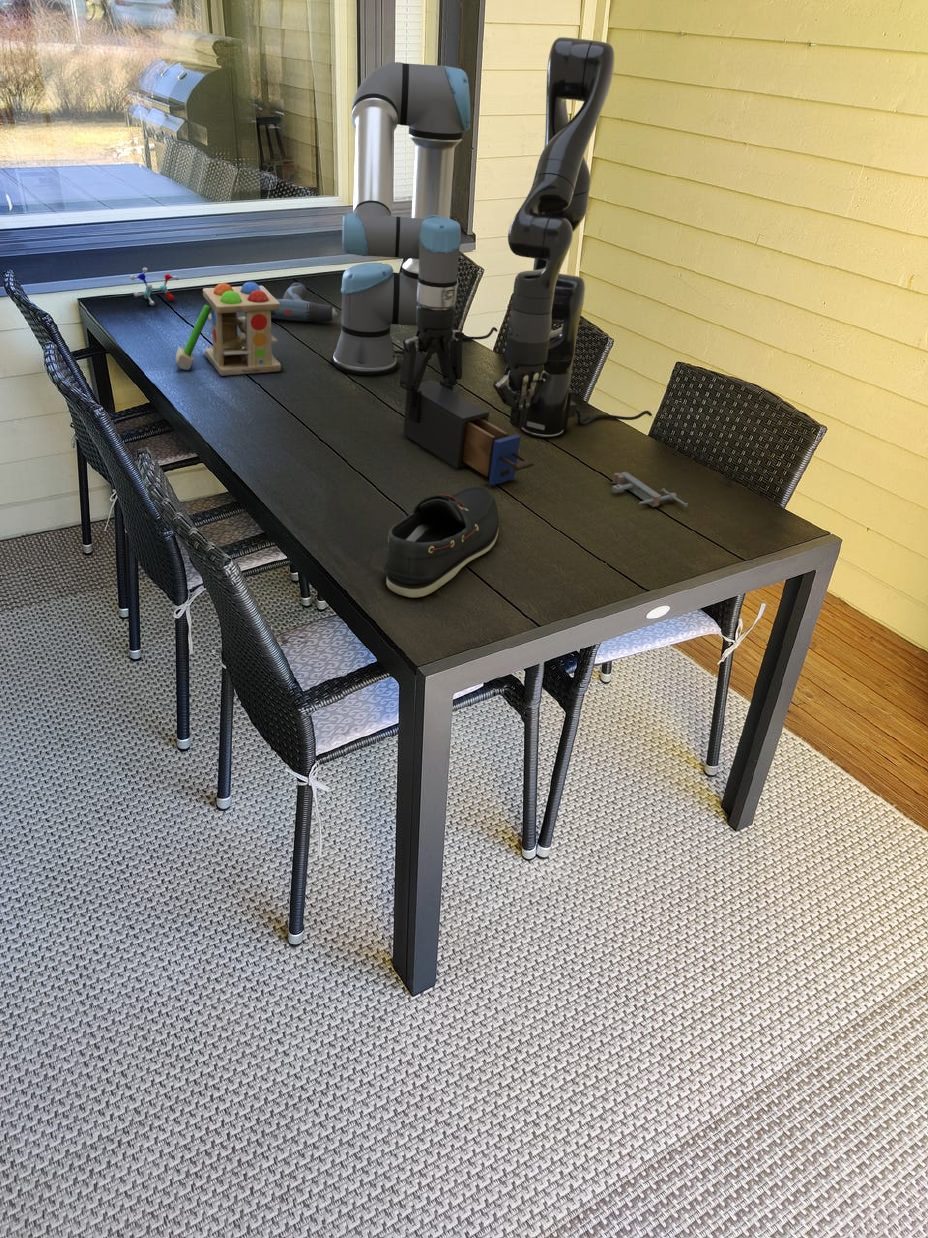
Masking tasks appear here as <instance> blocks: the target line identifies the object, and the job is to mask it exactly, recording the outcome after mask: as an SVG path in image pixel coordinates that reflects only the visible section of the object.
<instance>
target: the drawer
mask: <svg viewBox="0 0 928 1238" xmlns="http://www.w3.org/2000/svg"><path fill="white" fill-rule="evenodd" d="M520 442H521V436H520V435H518V434H513V435H510V436H509V432H506V431H505V430H504V429H502V428H500V427H498V426H496V425H494V424H493V423H491V422H489V420H488V421H486V420H484V419H483V418H479V419H475V420H471V421H467V422H466V423H465V432H464V441H463V450H462V459H461V461H463V462H464V463H466V464H467V465H469V466H468V467H470V468H472V469H474V470H475V471H477V472H478V473H480V474H481V475H483V476H484V477H486V478H489V479H488V483H489V484H490V485H492V486H495V485H498V484H501V483H505V482H508V481H511V480H514V479H515V477H516V472H518V471H521V470H525V469H528V468H531V467H534V465H535V462H534V459H532V458H529V459H528V458H526V457H524V456H522V455H521V454H519V448H520V444H521V443H520ZM518 460H519V462H518Z"/></svg>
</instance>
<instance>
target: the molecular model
mask: <svg viewBox="0 0 928 1238" xmlns="http://www.w3.org/2000/svg"><path fill="white" fill-rule="evenodd" d="M146 273H148V268H147V267H143V268H142V273H139V275H135V274H134V275H133V274H132V275H130V276H129V278H130V280H132V281H134V280H136V279H139V280H140V281H142V282H143V284H144V285H145V290H143V292H137V291H135V292H134V293H133V296H134V297H135V298H138V297H139V296H140V297H141V296H143V298H144V299H145V300H148V301H149V305H150V306H151V307H152V306H154V305H155V301H153V300H152V298H151V297H150V296H151V294H152V293H153V292H154V291H161V292H163V293H164V294H165V295H166V297H167V299H168V301H170V302H171V301H174V300H175V296H174V295H173V294H171V293H170V291H169V290H168V287H167V283H168V281H170V280H171V279H172V280H175V281H179V280H180V276H179V275H170V274H169V273H165V275H164V283H163V284H161V285H160V286H159V287H153V285H152V284H150V283H149V284H148V282H147V281H146Z"/></svg>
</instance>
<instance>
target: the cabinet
mask: <svg viewBox="0 0 928 1238" xmlns="http://www.w3.org/2000/svg"><path fill="white" fill-rule="evenodd" d="M413 385H414V384H413ZM419 391H421V392H422V394H421V411H420V423H416V422H414V421H412V420H411V419H409V407H410V406H409V405H408V403H407V398H408V391H407V390H406V393H405V394H406V395H405V408H404V419H403V421H404V422H403V435H404V437H406V438H408V439H410V440H411V441H413V442H414V443H415V444H417V445H419V446H420V447H422V448H423V449H425V450H427V451H428V452H430V453H431V454H433V455H434V456H436V457H437V458H439V459H441V460H442V461H444V462H445V463H446V464H448V465H449V466H451V467H453V468H455V469H456V470H460V469H463V468H467V467H470V466H469V465H467V464H466V463H464V462H463V461H461V459H462V450H463V441H464V432H465V423H466V422H467V421H471V420H475V419H479V418H483V419H484V420H486V421H488V422H489V419H490V411H488V410H487V409H485V408H483V407H482V406H480V405H478V404H476V403H474V402H473V401H471V400H469V399H467V398H466V397H464V396H462V395H460V394H459V393H457V392H455V391H454V390H453V391H452V390H450V389H448V388H447V387H445V386H443V385H441V384H440V382H438V381H436V380H435V379H431V380H426V381H421V384H420V387H419Z"/></svg>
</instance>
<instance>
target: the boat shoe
mask: <svg viewBox="0 0 928 1238" xmlns="http://www.w3.org/2000/svg"><path fill="white" fill-rule="evenodd" d="M499 528H500V518H499V509H498V505H497V501H496V499H495V498H494V496H493V494H492V493H491V491H490V490H488V489H487V488H486V487H483V486H471V487H467V488H464V489H462V490H459V491H458V492H455V493H454V494H452V495H447V494H437V493H436V494H432V495H429V496H427V497H424V498H423V499H421V500H420V501H419V502H418V503H417V504H415V506H414V508H413V509H412V511H411V513H410V514H409V515H407V516H405V517H404V518H403V519H401V520H400V521H398V522H396V523H394V524H393V525H392V526H391V527H390V529H389V531H388V532H387V535H386V537H385V538H386V540H387V541H388V546H387V547H388V550H387V554H386V560H385V563H384V565H383V566H384V567H383V569H384V570H385V571H386V580H385V581H386V586H387V588H388V589H389V590H390V591H392V592H393V593H395V594H397V595H399V596H403V597H406V598H421V597H425V596H427V595H430V594H432V593H433V592H435V591H437V590H438V589H439V588H441V587H442V586H444V585H445V584H446V583H448V582H449V581H451V580H452V579H453V578H454V577H455V576H457V574H458V573H459V572H460V570H461V569H462V568H463V567H465V566H466V565H467V564H468V563H470V562H471V561H473V560H475V559H477V558H479V557H480V556H482V555H484V554H486V553H487V552H489V551H490V550H491V549H492V548H493V546H494V545H495V544H496V541H497V539H498V537H499V536H498V535H499Z"/></svg>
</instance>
